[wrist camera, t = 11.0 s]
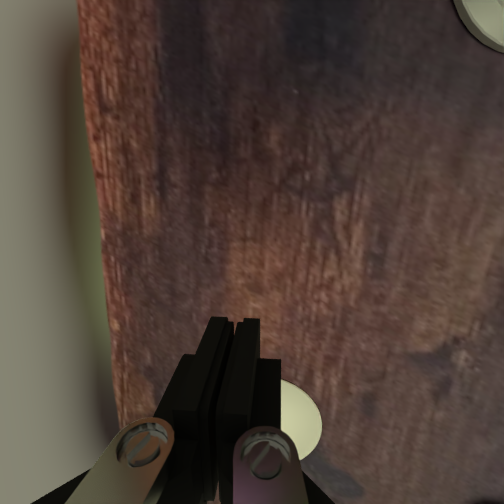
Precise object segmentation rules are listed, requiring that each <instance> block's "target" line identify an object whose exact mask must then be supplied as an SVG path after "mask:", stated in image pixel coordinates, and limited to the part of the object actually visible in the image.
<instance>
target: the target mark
mask: <svg viewBox="0 0 504 504" xmlns="http://www.w3.org/2000/svg"><path fill="white" fill-rule="evenodd" d="M281 430H282V431H283V432H284V433H286V434H287V435H289V437H290V438H291V439H292V441H293V442H294V443H295V446H296V449H297V451H298V455H299V460H301V459H303V458H304V457H306V456H307V455H308V454H309V453H310V452H311V451H312V450H313V449H314V448H315V447H316V445H317V443H318V441H319V439H320V436H321V431H322V421H321V416H320V413H319V410H318V408H317V406H316V404H315V403H314V401H313V400H312V399H311V397H310V396H309V395H308V394H307V393H306V392H304V391H303V390H302V389H301V388H299V387H297V386H296V385H294V384H292V383H290V382H288V381H286V380H283V379H281Z"/></svg>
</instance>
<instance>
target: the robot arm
mask: <svg viewBox="0 0 504 504" xmlns="http://www.w3.org/2000/svg"><path fill="white" fill-rule="evenodd" d="M453 1H454V4H455V6H456V9H457V11H458V14H459V16H460V18H461V20H462V21H463V23H464V24H465V25H466V27H467V28H468V30H469V31H470V33H472V34H473V35H474V36H475V37H476V38H477V39H478V40H479V41H481V42H482V43H483V44H485V45H487V46H488V47H490V48H492V49H494V50H496V51H498V52H502V53H504V0H453ZM218 481H219V500H220V502H221V504H335V503H334V502H333V501H332V500H331V499H330V498H329V497H328V496H327V495H326V494H325V493H324V492H323V491H322V490H321V489H320V488H319V487H318V486H317V485H316V484H315V483H314V482H313V481H312V480H311V479H310V478H309V477H308V476H307V475H306V474H305V473H304V472H303V471H302V469H301V465H300V460H299V455H298V451H297V449H296V446H295V443H294V442H293V441H292V439H291V438H290V437H289V435H287V434H286V433H284V432H283V431H282V430H281V359H264V358H260V319H256V318H244V320H243V322H238V323H237V326H236V330H235V334H234V323H233V322H228V318H227V317H211V318H210V320H209V323H208V325H207V328H206V330H205V332H204V335H203V337H202V339H201V342H200V344H199V347H198V349H197V351H196V354H195V355H193V354H184V355H183V356H182V358H181V360H180V362H179V364H178V366H177V368H176V370H175V372H174V374H173V376H172V378H171V381H170V383H169V385H168V387H167V389H166V391H165V393H164V395H163V397H162V399H161V401H160V403H159V406H158V408H157V410H156V412H155V414H154V416H153V417H149V418H143V419H139V420H137V421H135V422H132V423H130V424H129V425H127V426H126V427H125V428H123V429H122V430H121V431H120V432H119V433H118V434H117V435H116V437H115V438H114V439H113V440H112V442H111V443H110V444H109V446H108V447H107V448H106V450H105V451H104V452H103V453H102V455H101V456H100V457H99V459H98V461H96V463H95V464H94V466H93V467H92V468H91V469H89V470H87V471H86V472H84V473H82V474H81V475H79V476H77V477H76V478H74V479H72V480H70V481H69V482H67V483H65V484H63V485H62V486H60V487H59V488H57V489H55V490H53V491H52V492H50V493H48V494H46V495H45V496H43V497H41V498H40V499H38V500H36V501H35V502H33V503H31V504H207V501H214V499H215V495H216V490H217V485H218Z"/></svg>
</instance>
